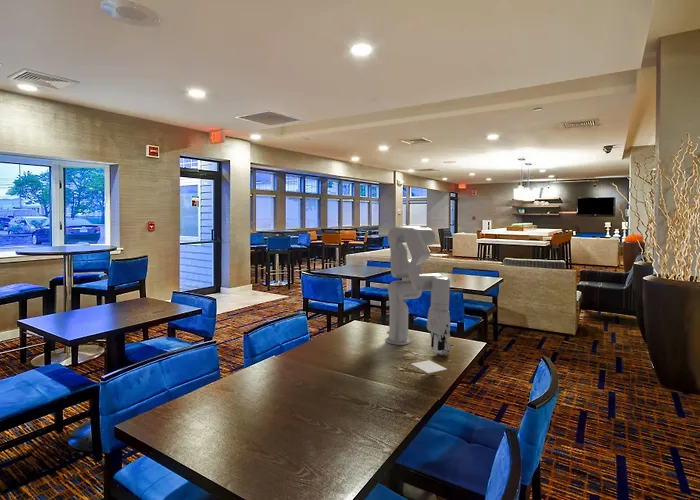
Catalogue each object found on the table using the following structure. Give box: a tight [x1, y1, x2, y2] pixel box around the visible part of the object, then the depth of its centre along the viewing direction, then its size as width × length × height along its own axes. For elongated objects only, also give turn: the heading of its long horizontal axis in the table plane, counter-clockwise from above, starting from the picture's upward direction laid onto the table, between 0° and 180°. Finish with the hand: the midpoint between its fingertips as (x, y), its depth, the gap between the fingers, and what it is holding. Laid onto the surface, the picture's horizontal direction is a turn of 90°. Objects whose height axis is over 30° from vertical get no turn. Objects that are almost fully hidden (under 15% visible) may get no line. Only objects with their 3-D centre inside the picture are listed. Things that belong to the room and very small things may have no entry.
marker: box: [432, 333, 443, 354], centre depth 175 cm, size 4×4×9 cm
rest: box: [401, 353, 417, 361], centre depth 190 cm, size 6×6×1 cm
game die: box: [431, 340, 454, 358], centre depth 192 cm, size 9×8×10 cm
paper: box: [410, 359, 448, 374], centre depth 177 cm, size 12×10×1 cm
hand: (437, 347), depth 175 cm, fingers closed on marker, 3 cm apart
